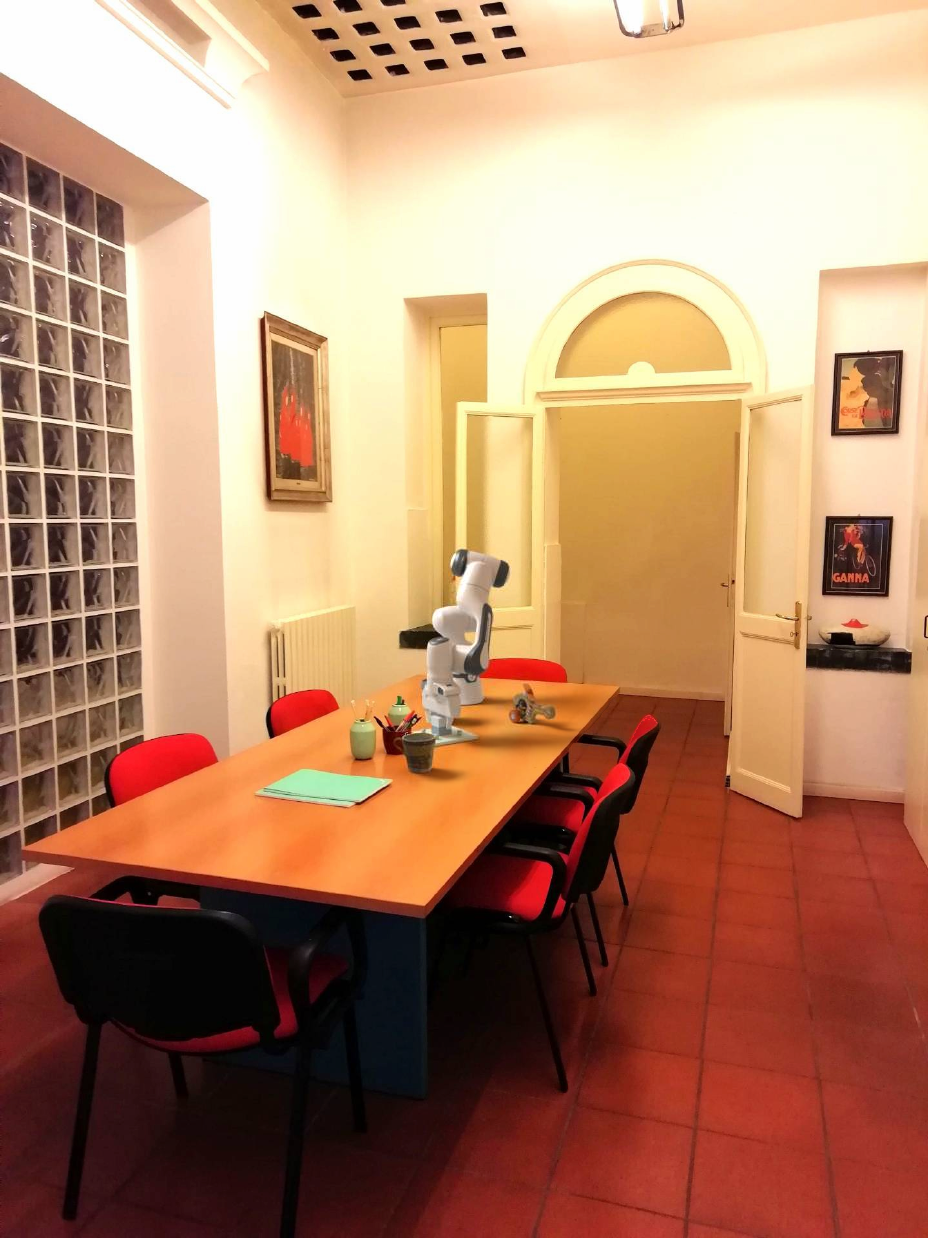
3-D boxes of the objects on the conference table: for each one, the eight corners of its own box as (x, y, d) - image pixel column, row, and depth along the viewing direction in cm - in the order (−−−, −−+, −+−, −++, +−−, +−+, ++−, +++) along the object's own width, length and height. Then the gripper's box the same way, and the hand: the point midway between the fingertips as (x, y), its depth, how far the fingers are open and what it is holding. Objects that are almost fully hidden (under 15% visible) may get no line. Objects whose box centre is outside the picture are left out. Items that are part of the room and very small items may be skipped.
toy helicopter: (523, 717, 323) (523, 681, 321) (562, 727, 307) (562, 689, 305) (506, 721, 318) (506, 684, 316) (545, 731, 302) (545, 692, 300)
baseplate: (405, 735, 300) (405, 728, 300) (450, 728, 309) (450, 721, 309) (431, 747, 285) (431, 739, 285) (478, 738, 294) (477, 731, 294)
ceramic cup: (440, 766, 263) (440, 733, 262) (430, 775, 254) (429, 742, 253) (400, 763, 267) (399, 731, 266) (388, 773, 257) (387, 739, 256)
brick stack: (431, 733, 298) (431, 716, 297) (444, 731, 300) (443, 714, 300) (438, 736, 294) (438, 718, 293) (451, 734, 296) (451, 716, 296)
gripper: (417, 682, 302) (418, 721, 304) (447, 692, 285) (448, 733, 287) (433, 680, 305) (434, 718, 307) (463, 689, 288) (464, 730, 290)
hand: (441, 726), depth 297 cm, fingers open, 8 cm apart
